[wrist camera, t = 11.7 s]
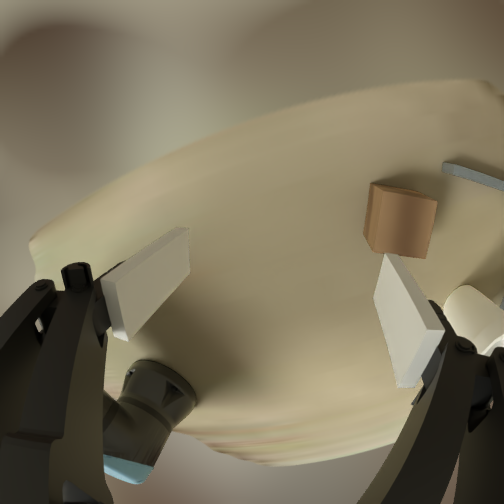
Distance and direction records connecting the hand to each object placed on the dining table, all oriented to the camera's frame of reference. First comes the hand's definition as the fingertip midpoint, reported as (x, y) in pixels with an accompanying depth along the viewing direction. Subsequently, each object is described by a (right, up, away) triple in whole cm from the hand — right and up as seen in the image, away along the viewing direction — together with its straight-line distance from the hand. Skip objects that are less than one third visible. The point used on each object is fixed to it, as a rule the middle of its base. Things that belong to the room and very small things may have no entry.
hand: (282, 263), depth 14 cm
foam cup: (+28, -7, +16) cm, 33 cm away
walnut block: (+14, +5, +14) cm, 21 cm away
